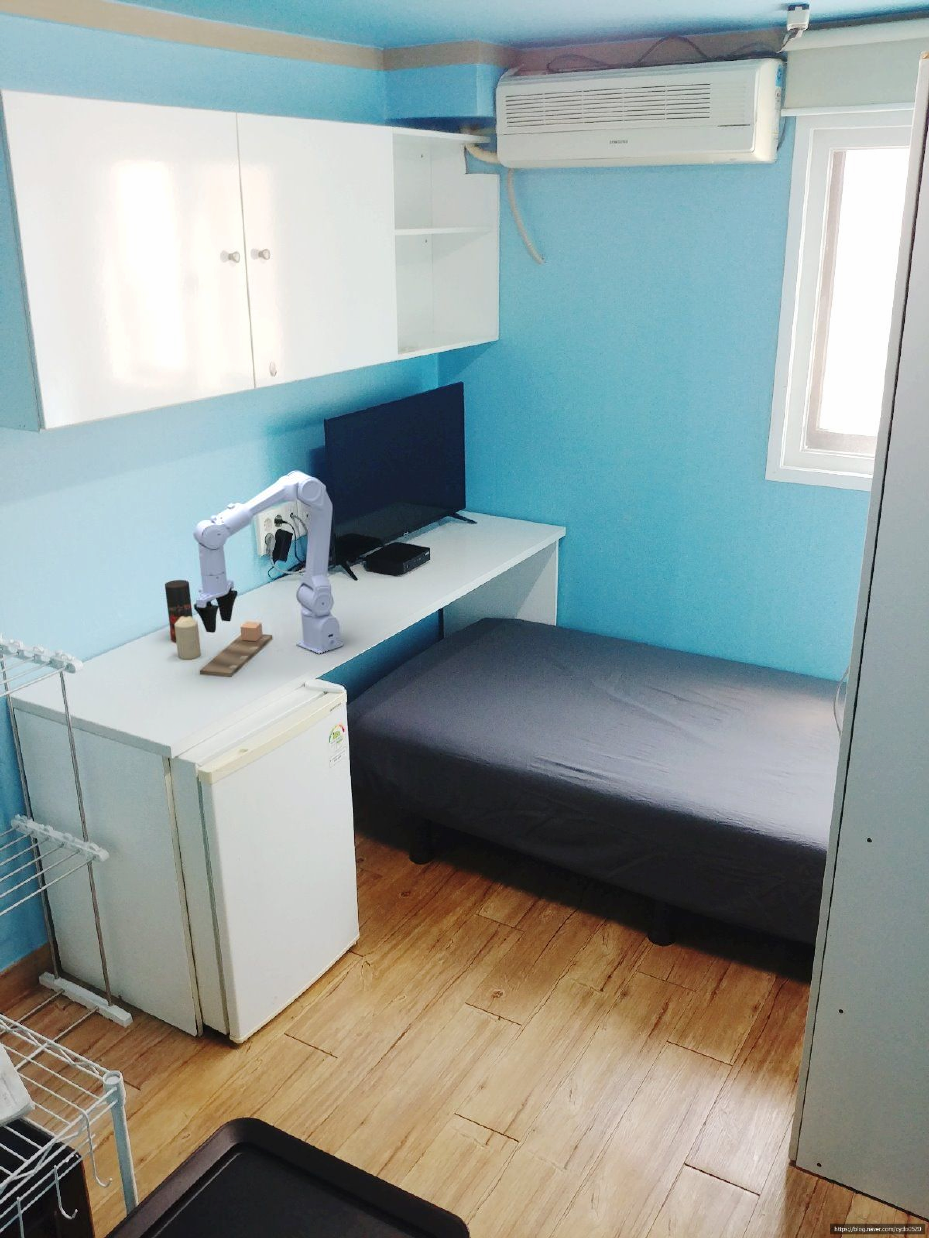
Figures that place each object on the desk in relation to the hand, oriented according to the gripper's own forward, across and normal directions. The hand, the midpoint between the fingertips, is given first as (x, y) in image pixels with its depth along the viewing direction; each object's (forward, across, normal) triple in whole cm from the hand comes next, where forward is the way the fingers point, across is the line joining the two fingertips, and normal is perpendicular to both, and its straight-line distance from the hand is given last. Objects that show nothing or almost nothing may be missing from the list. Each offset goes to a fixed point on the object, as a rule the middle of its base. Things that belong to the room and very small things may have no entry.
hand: (218, 626), depth 256 cm
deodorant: (+11, -14, -19) cm, 26 cm away
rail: (+10, -7, 0) cm, 13 cm away
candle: (+11, -4, -11) cm, 16 cm away
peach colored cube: (+9, -16, 0) cm, 18 cm away
